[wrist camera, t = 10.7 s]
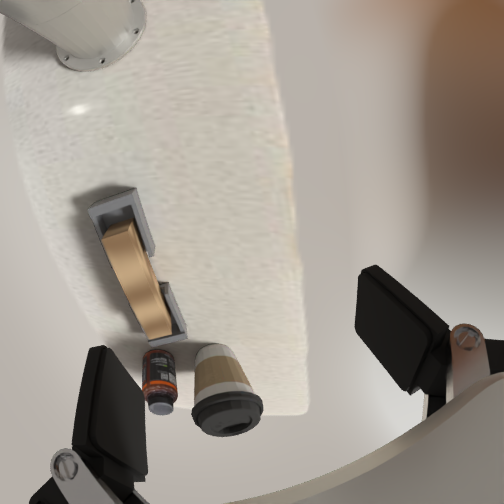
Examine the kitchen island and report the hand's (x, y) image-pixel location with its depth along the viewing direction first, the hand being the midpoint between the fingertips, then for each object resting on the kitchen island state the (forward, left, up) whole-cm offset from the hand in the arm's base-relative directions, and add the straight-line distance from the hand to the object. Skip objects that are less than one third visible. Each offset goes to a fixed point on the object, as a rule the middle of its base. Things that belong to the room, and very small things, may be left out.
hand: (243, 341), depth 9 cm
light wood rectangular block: (+10, -10, -28) cm, 31 cm away
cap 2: (+17, -11, -28) cm, 35 cm away
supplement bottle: (+28, -15, -28) cm, 43 cm away
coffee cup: (+31, -5, -28) cm, 42 cm away
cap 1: (+3, -10, -28) cm, 30 cm away
